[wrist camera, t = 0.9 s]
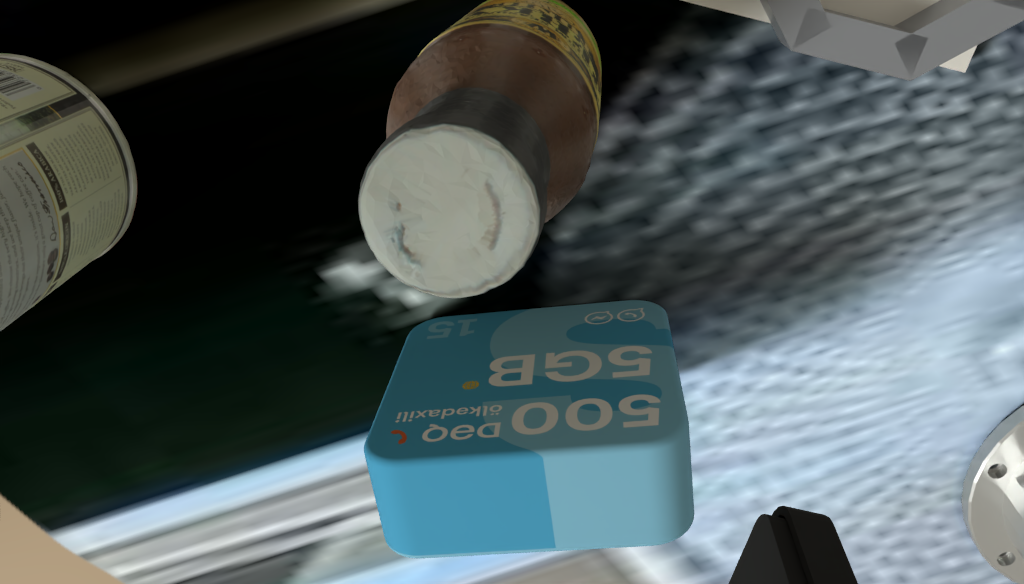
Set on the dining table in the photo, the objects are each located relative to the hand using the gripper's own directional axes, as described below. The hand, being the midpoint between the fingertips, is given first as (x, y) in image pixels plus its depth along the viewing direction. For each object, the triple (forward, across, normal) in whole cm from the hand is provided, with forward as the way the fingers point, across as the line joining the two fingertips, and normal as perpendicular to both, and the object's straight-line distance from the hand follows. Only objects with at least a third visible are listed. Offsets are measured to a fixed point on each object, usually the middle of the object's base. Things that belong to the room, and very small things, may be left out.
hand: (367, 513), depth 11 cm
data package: (+29, -4, +13) cm, 32 cm away
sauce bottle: (+29, 0, 0) cm, 29 cm away
